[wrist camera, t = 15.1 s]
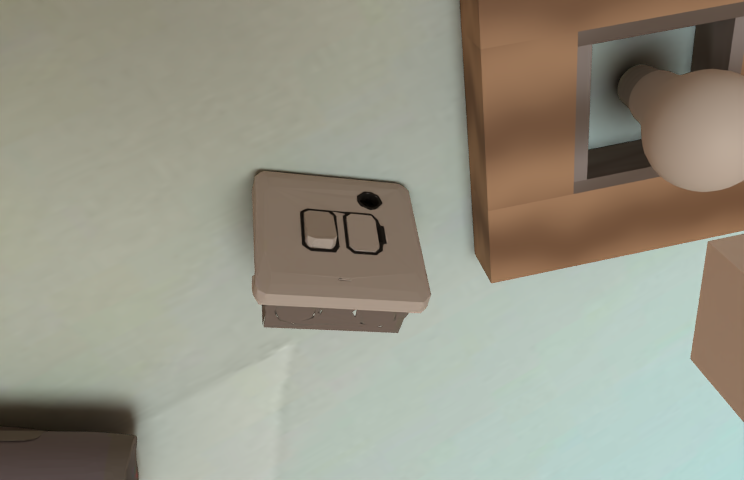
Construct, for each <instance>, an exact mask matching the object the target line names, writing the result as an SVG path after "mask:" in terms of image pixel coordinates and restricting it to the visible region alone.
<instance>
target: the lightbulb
mask: <svg viewBox="0 0 744 480" xmlns="http://www.w3.org/2000/svg"><path fill="white" fill-rule="evenodd" d="M617 93H618V96H619V98H620V100H621V101H622V102H623V103H624V104H625V105H626V106H627V107H628V108H629V109H630V112H631V114H632V115H633V117H634V118H635V119H636V120H637V121H638V122H639V123H640V125H641V137H642V146H643V150H644V153H645V155H646V157H647V159H648V161H649V163H650V164H651V166H652V168H653V169H654V170H655V171H656V172H657V173H658V175H660V176H661V177H662V178H663V179H664V180H666V181H668V182H669V183H671V184H673V185H675V186H677V187H680V188H683V189H686V190H691V191H697V192H710V191H717V190H722V189H726V188H729V187H731V186H734V185H736V184H738V183H740V182H742V181H744V76H743V75H741V74H738V73H735V72H733V71H727V70H719V69H704V70H698V71H694V72H690V73H686V74H683V75H678V74H675V73H673V72H670V71H666V70H658V69H656V68H654V67H651V66H649V65H644V64H641V65H636V66H634V67H631V68H630V69H628V70H627V71H626V72H625V73H624V74H623V76H622V77H621V79H620V81H619V83H618V88H617Z"/></svg>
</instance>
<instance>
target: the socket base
mask: <svg viewBox="0 0 744 480" xmlns="http://www.w3.org/2000/svg"><path fill="white" fill-rule="evenodd" d="M460 12H461V29H462V46H463V63H464V80H465V97H466V113H467V130H468V147H469V164H470V181H471V198H472V215H473V231H474V248H475V255H476V257H477V258H478V260H479V262H480V264H481V266H482V267H483V269H484V271H485V273H486V275H487V276H488V278H489V280H490V282H491V283H495V282H500V281H505V280H510V279H514V278H519V277H524V276H529V275H534V274H538V273H543V272H548V271H553V270H557V269H562V268H567V267H572V266H577V265H581V264H586V263H591V262H596V261H601V260H605V259H610V258H615V257H620V256H624V255H629V254H634V253H639V252H644V251H648V250H653V249H658V248H663V247H667V246H672V245H677V244H682V243H687V242H691V241H696V240H701V239H706V238H711V237H715V236H720V235H725V234H730V233H734V232H739V231H744V181H742V182H740V183H738V184H736V185H734V186H731V187H729V188H726V189H722V190H717V191H710V192H697V191H691V190H686V189H683V188H680V187H677V186H675V185H673V184H671V183H669V182H668V181H666V180H664V179H663V178H662V177H661V176H660V175H658V173H657V172H656V171H655V170H654V169H653V168H652V166H651V164H650V163H649V161H648V159H647V157H646V155H645V153H644V150H643V146H642V140H637V141H632V142H627V143H622V144H616V145H611V146H606V147H601V148H596V149H591V150H588V139H589V114H590V88H591V62H592V44H596V43H602V42H607V41H612V40H618V39H623V38H629V37H634V36H640V35H645V34H651V33H656V32H661V31H667V30H672V29H678V28H683V27H689V26H694V25H696V32H695V41H694V49H693V58H692V66H691V72H694V71H698V70H704V69H719V70H727V71H733V72H735V73H738V74H741V75H743V76H744V0H460Z"/></svg>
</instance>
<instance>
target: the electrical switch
mask: <svg viewBox="0 0 744 480" xmlns="http://www.w3.org/2000/svg"><path fill="white" fill-rule="evenodd" d="M252 201H253V232H254V263H255V275H254V276H252V292H253V296H254V297H255V299H256V301H257V302H258V304H262V322H263V321H264V327H272V328H296V329H320V330H343V331H367V332H391V333H398V332H399V329H400V327H401V325H402V322H403V320H404V318H405V317H406V316H407V315H408V313H421V312H422V311H423V310H425V309H426V307H427V306H428V302H429V299H430V296H431V293H430V288H429V283H428V279H427V274H426V269H425V265H424V260H423V256H422V251H421V246H420V242H419V237H418V232H417V228H416V223H415V219H414V214H413V209H412V205H411V200H410V195H409V191H408V190H407V189H406V188H405V187H403V186H402V185H400V184H397V183H387V182H376V181H366V180H355V179H344V178H334V177H323V176H313V175H302V174H291V173H281V172H270V171H262V172H260V173H259V174H257V175H256V176H255V178H254V183H253V187H252ZM321 310H322V312H321V314H320V311H321ZM354 310H357V311H356V316H354V314H353V313H352V312H353V311H354ZM265 313H266V314H265ZM314 313H315V315H314V316H313V314H314ZM276 314H277V316H278V317H277V316H276ZM264 317H265V320H264ZM293 323H294V324H293ZM378 326H381V327H378Z"/></svg>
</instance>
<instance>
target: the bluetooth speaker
mask: <svg viewBox="0 0 744 480" xmlns="http://www.w3.org/2000/svg"><path fill="white" fill-rule="evenodd" d="M136 446H137V437H136V436H135V435H126V434H116V433H103V432H58V431H39V430H35V429H29V428H20V427H0V480H139V479H138V467H137V461H136Z"/></svg>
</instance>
